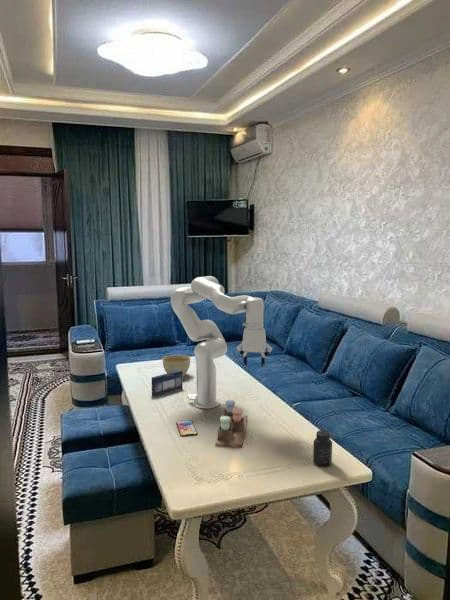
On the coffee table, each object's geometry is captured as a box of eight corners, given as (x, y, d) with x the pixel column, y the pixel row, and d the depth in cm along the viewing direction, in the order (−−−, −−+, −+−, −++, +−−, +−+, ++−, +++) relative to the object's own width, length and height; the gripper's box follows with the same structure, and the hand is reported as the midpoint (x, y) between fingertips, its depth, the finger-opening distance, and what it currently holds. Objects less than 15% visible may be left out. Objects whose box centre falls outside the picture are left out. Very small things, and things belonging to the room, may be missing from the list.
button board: (215, 445, 191) (215, 433, 191) (224, 417, 220) (224, 406, 219) (241, 447, 190) (241, 435, 189) (247, 418, 219) (247, 407, 218)
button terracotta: (231, 425, 202) (231, 411, 201) (232, 421, 207) (232, 407, 206) (241, 426, 202) (241, 412, 201) (242, 422, 206) (242, 408, 205)
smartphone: (191, 420, 215) (198, 433, 201) (191, 422, 216) (198, 435, 201) (175, 421, 214) (180, 435, 199) (175, 423, 214) (180, 437, 199)
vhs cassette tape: (154, 397, 245) (153, 378, 243) (151, 395, 247) (150, 377, 245) (183, 389, 257) (183, 371, 255) (180, 387, 259) (179, 369, 257)
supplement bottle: (310, 459, 181) (311, 429, 179) (328, 458, 182) (329, 428, 180) (315, 468, 174) (316, 437, 173) (334, 467, 175) (335, 436, 173)
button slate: (224, 416, 212) (225, 403, 211) (226, 413, 216) (226, 399, 215) (234, 417, 211) (234, 403, 210) (235, 413, 215) (235, 400, 214)
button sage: (219, 434, 194) (219, 419, 193) (220, 430, 198) (220, 415, 197) (229, 434, 194) (229, 420, 193) (230, 430, 198) (231, 416, 197)
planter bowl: (196, 375, 280) (196, 357, 278) (179, 382, 267) (178, 363, 265) (174, 370, 288) (174, 353, 287) (156, 377, 275) (156, 359, 273)
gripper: (234, 327, 207) (233, 367, 210) (274, 328, 205) (273, 368, 208) (235, 323, 215) (235, 362, 217) (274, 324, 213) (273, 363, 215)
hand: (254, 365), depth 213 cm, fingers open, 6 cm apart
